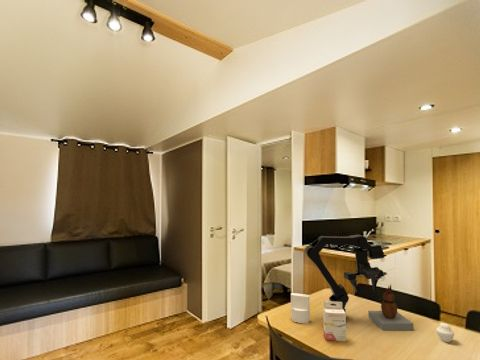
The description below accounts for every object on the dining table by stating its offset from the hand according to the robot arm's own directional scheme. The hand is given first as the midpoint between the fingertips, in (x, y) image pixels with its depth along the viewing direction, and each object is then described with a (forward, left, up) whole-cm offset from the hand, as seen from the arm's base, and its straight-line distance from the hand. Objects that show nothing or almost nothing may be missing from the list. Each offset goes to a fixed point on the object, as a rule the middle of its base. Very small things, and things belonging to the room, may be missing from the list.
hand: (365, 291), depth 139 cm
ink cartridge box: (-22, -20, -13) cm, 33 cm away
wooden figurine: (+8, -6, -10) cm, 15 cm away
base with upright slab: (-33, -2, -13) cm, 36 cm away
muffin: (+24, -22, -13) cm, 35 cm away
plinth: (+9, -6, -13) cm, 17 cm away
